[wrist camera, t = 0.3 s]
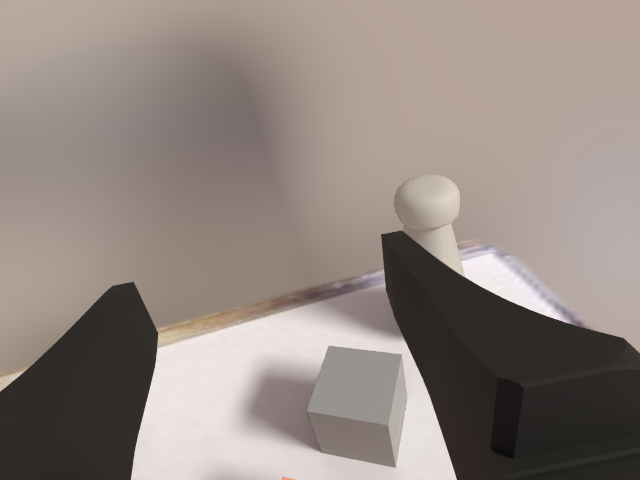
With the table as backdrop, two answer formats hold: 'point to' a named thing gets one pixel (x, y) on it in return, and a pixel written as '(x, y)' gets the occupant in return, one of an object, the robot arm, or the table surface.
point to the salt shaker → (431, 215)
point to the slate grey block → (359, 405)
